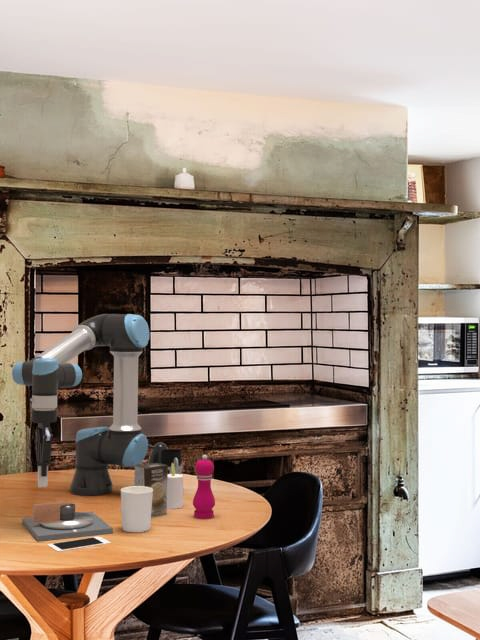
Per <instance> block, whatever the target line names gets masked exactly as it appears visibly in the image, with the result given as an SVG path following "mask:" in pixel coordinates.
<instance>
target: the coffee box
mask: <svg viewBox="0 0 480 640" xmlns="http://www.w3.org/2000/svg"><path fill="white" fill-rule="evenodd" d="M167 479H168V465H165V464H160V463H151V464H148V463H145V464H139V465H135V466H134V482H133V483H134V485H133V486H145V487H150V488H152V489H153V496H152V510H151V518H154V517H158V516H157V515H159V516H161V515H162V516H163V514H164V515H167V510H168V508H167Z"/></svg>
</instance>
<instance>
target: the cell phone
mask: <svg viewBox="0 0 480 640" xmlns="http://www.w3.org/2000/svg"><path fill="white" fill-rule="evenodd" d="M110 544H111V541H109V540H108V539H106V538H103V537H101V536H99V535H96V536H93V537H92V536H90V537H85V538H80V539H73V540H66V541H65V540H64V541H60V542H53V543H48V544H47V546H48V547H49V548H50V549H52V550H54V551H55V552H57V553H59V552H66V551H72V550H77V549H85V548H90V547H97V546H102V545H110Z"/></svg>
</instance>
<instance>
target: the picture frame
mask: <svg viewBox="0 0 480 640" xmlns="http://www.w3.org/2000/svg"><path fill="white" fill-rule="evenodd" d="M172 463H173V464H174V468H175V474H181V475H183V474H182V470H183V469H182V464H183V463H182V450H181V449H175V448H173V449H172V448H171V449H170V448H168V449H165V450H161V463H160V464H165V465H168V474H171V464H172Z"/></svg>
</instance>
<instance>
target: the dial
mask: <svg viewBox="0 0 480 640" xmlns="http://www.w3.org/2000/svg"><path fill="white" fill-rule="evenodd" d="M32 517H33V522H39V524H40V525H41V526H42V527H45V528H49V529H77V528H82V527H86V526H89V525H91V524H93V522H94V517H93V516H92V515H90V514H86V513H81V512H80V511H79V512H78V511H76V504H75V503H72V502H68V501H66V500H65V501H55V502H53V501H51V502H43V503H42V502H41V503H33V504H32Z"/></svg>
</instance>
